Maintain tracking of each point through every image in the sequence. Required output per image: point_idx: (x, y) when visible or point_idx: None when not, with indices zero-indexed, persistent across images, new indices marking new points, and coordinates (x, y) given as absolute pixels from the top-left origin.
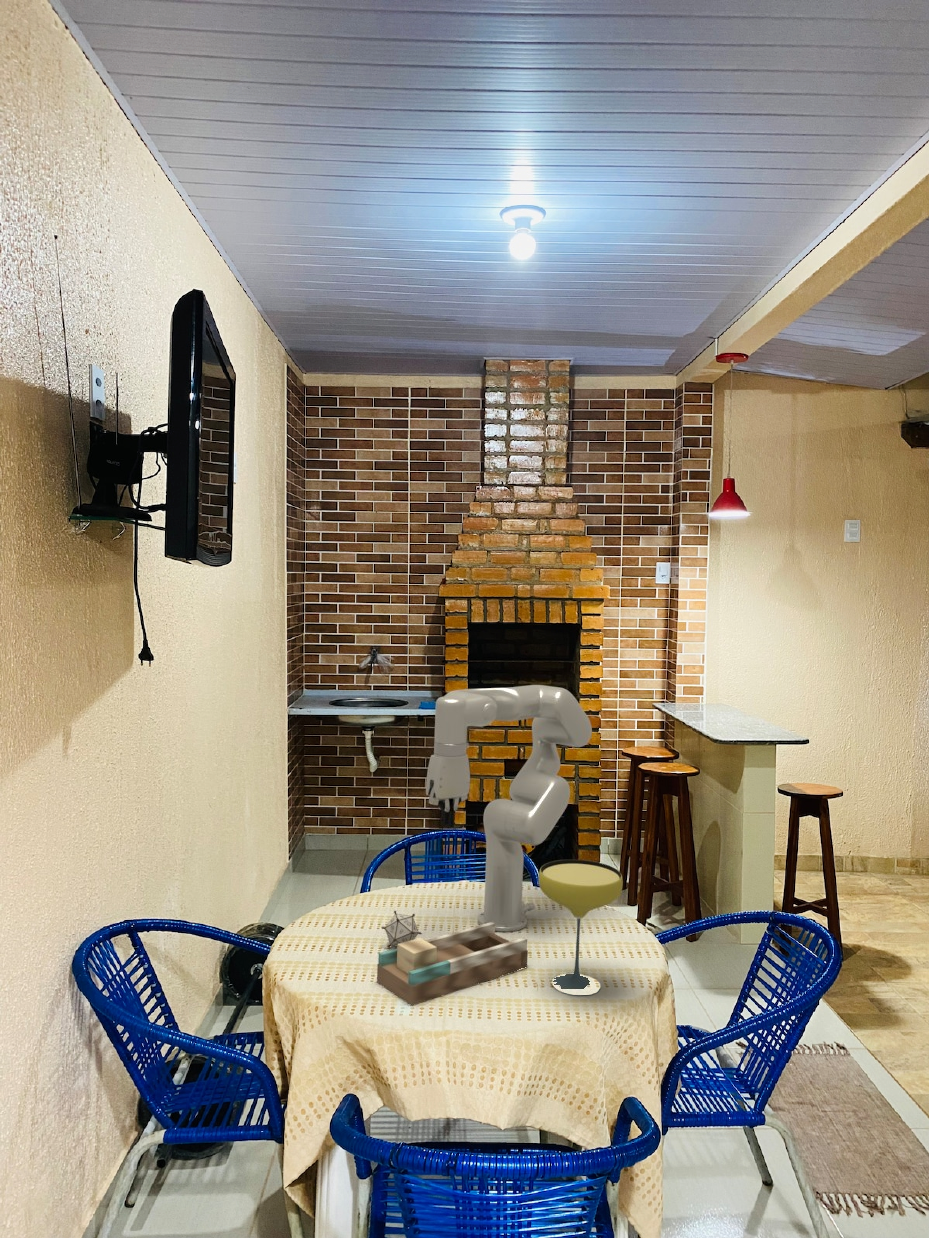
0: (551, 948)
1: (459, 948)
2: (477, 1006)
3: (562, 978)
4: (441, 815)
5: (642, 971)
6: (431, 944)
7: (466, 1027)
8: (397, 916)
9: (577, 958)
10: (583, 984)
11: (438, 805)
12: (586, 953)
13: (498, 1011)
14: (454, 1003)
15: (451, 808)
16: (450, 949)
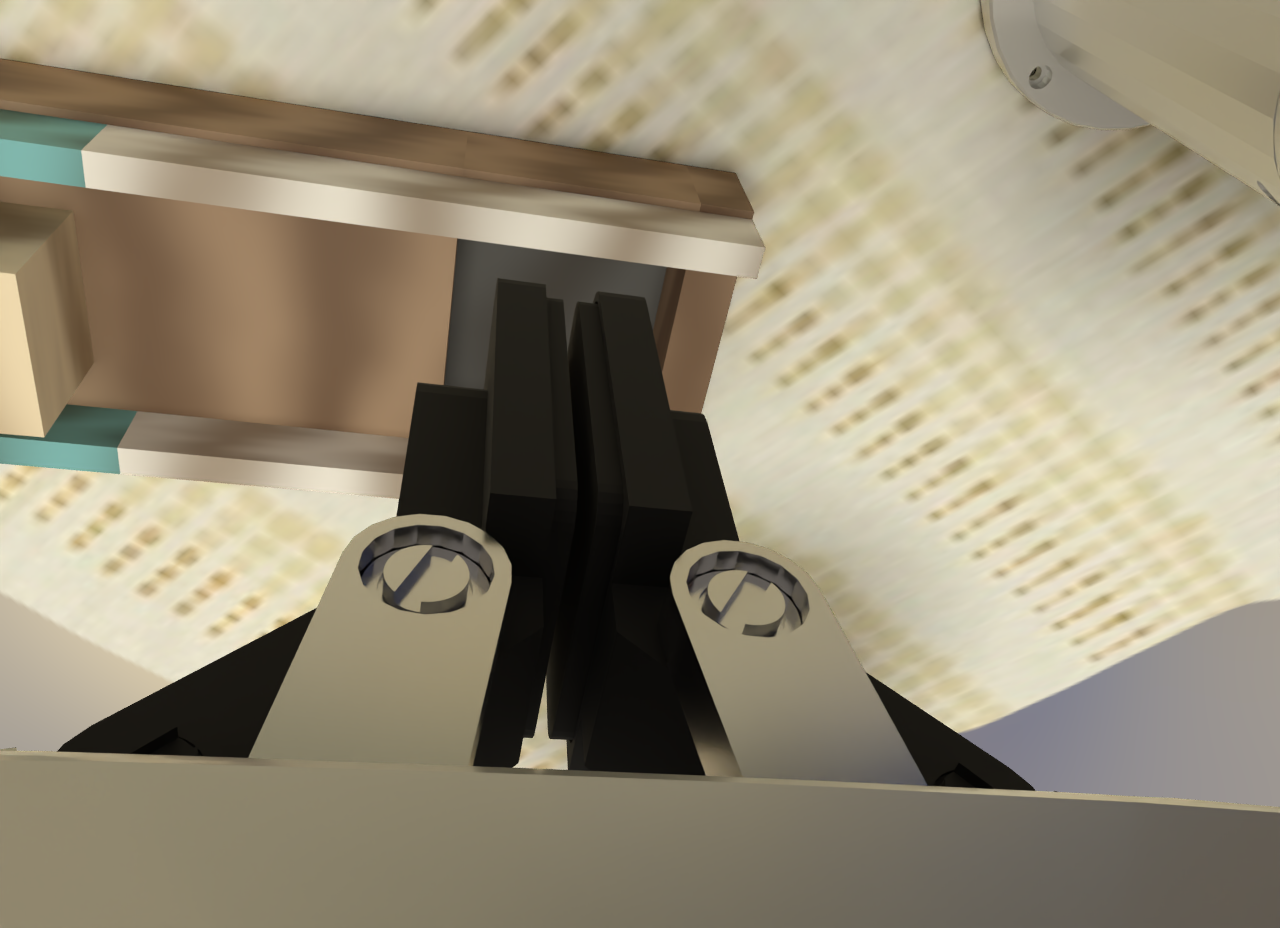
0: (946, 384)
1: (407, 254)
2: (200, 533)
3: None
4: (402, 493)
5: (951, 700)
6: (34, 391)
7: (48, 607)
8: None
9: None
10: None
11: (213, 711)
12: (988, 508)
13: (250, 600)
14: None
15: (592, 759)
16: (351, 227)
